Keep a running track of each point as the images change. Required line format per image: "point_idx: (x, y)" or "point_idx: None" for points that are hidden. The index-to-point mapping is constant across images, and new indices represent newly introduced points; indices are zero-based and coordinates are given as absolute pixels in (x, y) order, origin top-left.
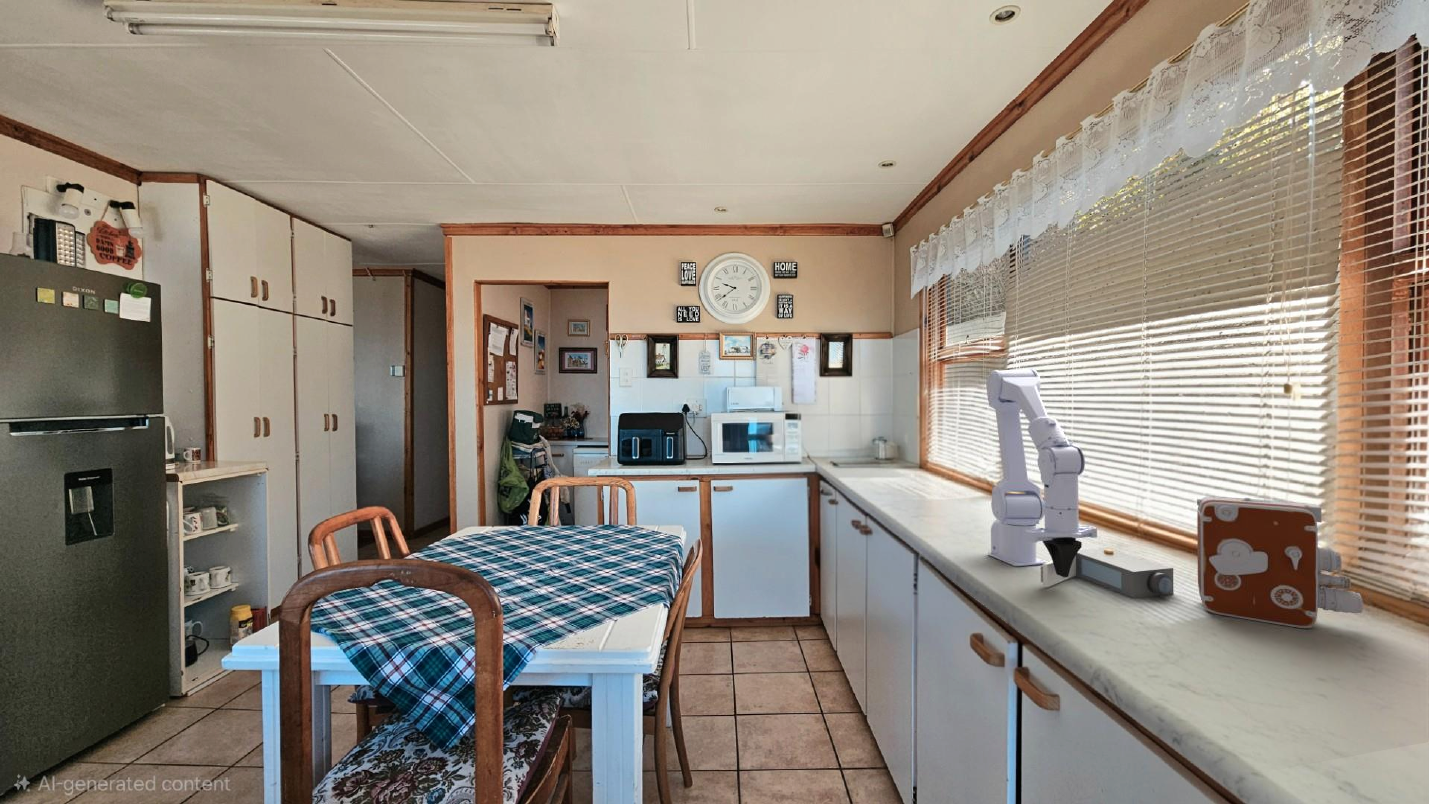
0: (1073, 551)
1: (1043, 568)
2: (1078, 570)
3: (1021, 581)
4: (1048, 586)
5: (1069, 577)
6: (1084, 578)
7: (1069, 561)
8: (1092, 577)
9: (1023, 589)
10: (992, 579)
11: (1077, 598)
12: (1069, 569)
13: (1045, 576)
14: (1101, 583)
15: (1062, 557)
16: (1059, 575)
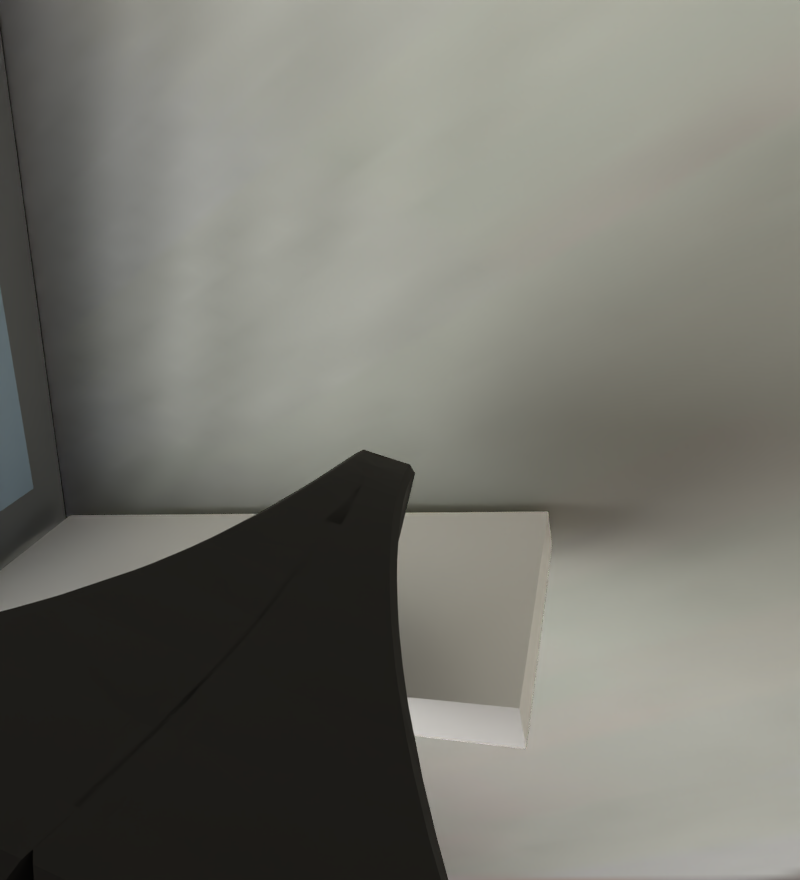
0: (111, 669)
1: (532, 690)
2: (22, 528)
3: (552, 691)
4: (525, 514)
5: (157, 517)
6: (53, 453)
7: (284, 559)
8: (15, 397)
9: (764, 615)
10: (715, 825)
11: (553, 187)
12: (325, 485)
13: (540, 600)
14: (18, 301)
15: (403, 683)
16: (401, 524)
